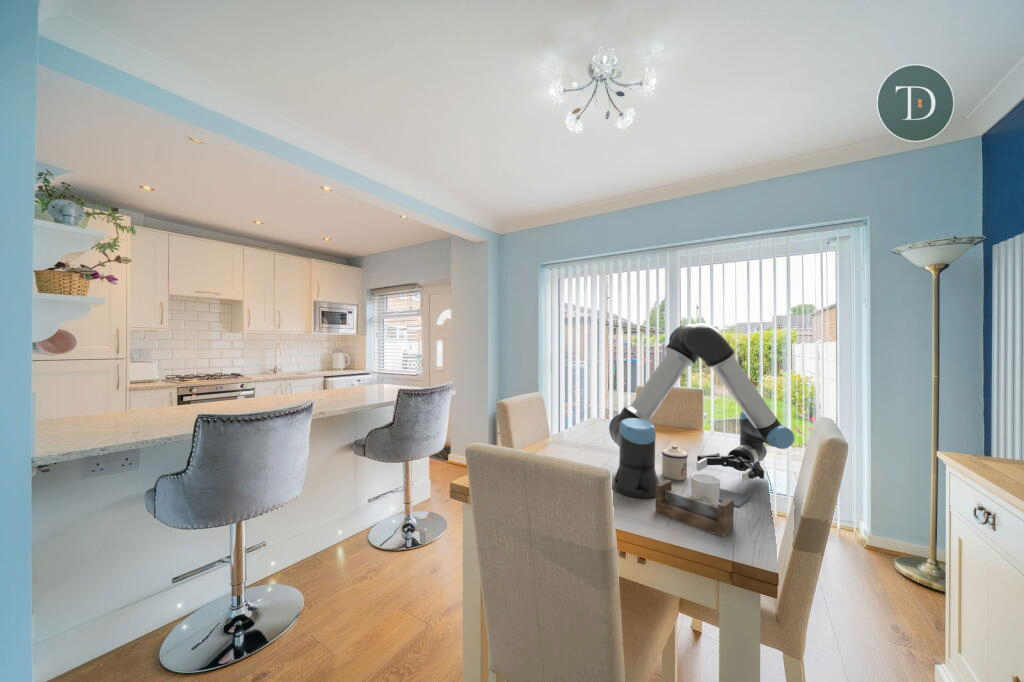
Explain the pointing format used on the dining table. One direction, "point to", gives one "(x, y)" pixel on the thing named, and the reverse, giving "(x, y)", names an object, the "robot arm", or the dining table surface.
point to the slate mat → (733, 497)
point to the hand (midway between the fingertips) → (719, 472)
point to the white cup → (705, 488)
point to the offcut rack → (695, 509)
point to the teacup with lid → (674, 463)
